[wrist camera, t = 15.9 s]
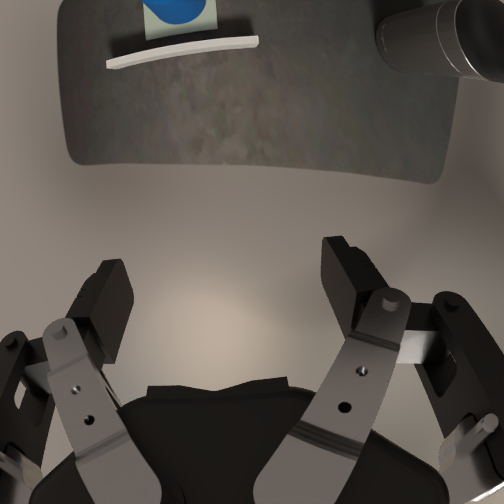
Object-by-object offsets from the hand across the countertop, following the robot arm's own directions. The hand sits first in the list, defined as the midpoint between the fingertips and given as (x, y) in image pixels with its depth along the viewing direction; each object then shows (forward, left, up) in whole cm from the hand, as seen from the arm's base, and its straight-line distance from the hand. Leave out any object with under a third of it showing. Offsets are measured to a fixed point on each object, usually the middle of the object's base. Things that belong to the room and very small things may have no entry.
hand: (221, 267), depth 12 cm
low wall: (+4, -13, -30) cm, 33 cm away
